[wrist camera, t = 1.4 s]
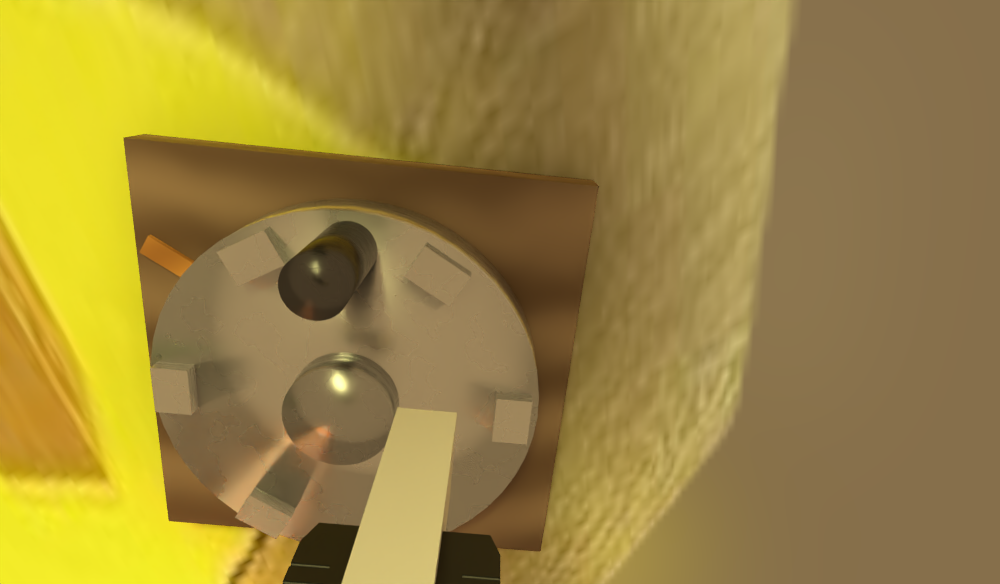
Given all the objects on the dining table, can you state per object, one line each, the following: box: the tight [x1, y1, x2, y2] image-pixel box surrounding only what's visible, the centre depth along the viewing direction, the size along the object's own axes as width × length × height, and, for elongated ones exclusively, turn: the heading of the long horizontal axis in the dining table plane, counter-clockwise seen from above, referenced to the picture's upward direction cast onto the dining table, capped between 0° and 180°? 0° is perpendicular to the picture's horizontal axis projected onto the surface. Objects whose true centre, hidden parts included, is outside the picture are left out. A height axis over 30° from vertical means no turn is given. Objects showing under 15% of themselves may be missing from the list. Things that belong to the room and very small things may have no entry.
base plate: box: [124, 134, 599, 551], centre depth 37 cm, size 26×26×2 cm
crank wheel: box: [150, 199, 539, 541], centre depth 32 cm, size 22×22×9 cm
